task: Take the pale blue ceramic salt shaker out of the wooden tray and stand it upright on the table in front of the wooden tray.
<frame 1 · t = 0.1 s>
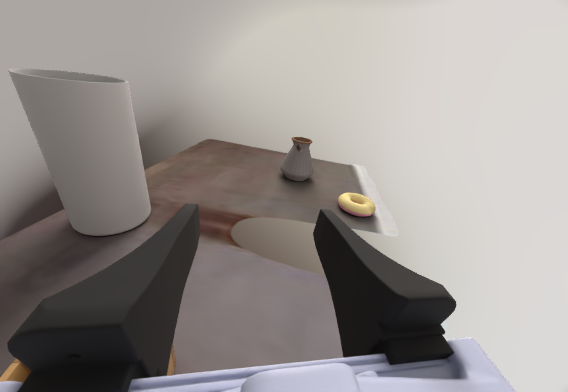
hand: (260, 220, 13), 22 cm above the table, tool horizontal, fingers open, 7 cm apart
cylinder vase: (115, 218, 43), on the table
coffee pot: (293, 182, 71), on the table
donut: (354, 209, 61), on the table
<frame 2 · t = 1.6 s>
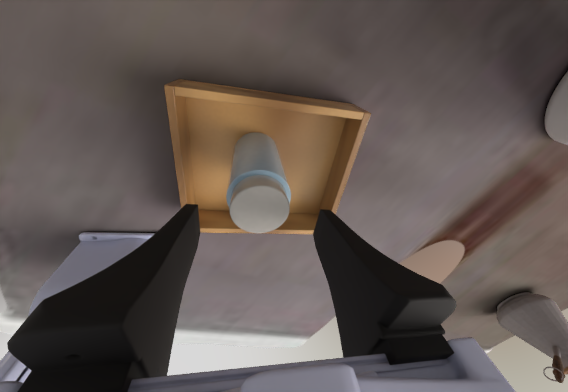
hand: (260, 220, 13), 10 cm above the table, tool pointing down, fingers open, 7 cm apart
coffee pot: (501, 297, 49), on the table
wooden tray: (265, 162, 22), on the table
shaker: (256, 154, 21), point 1 cm above the table, touching wooden tray
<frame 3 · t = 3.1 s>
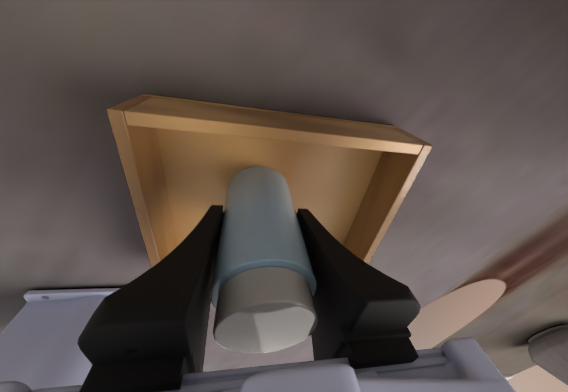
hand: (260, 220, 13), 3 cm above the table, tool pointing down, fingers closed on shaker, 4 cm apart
coffee pot: (534, 331, 43), on the table
wooden tray: (270, 201, 16), on the table
shaker: (258, 194, 15), point 1 cm above the table, touching wooden tray, gripper
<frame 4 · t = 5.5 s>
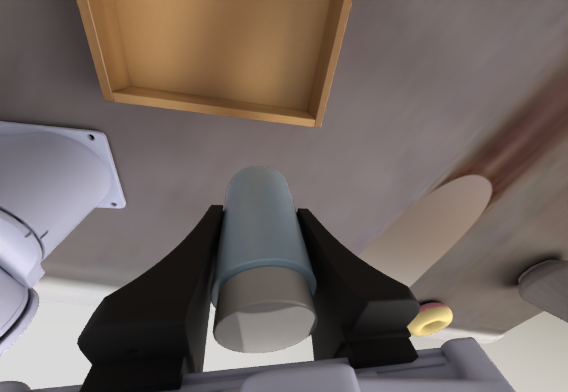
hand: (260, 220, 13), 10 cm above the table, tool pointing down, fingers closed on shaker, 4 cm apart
coffee pot: (524, 266, 42), on the table
wooden tray: (228, 6, 15), on the table
shaker: (258, 193, 15), point 8 cm above the table, touching gripper
donut: (421, 311, 47), on the table
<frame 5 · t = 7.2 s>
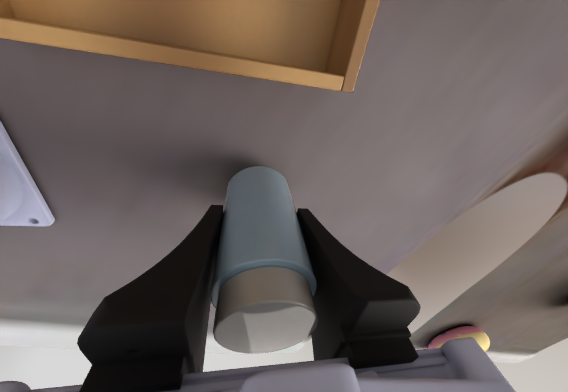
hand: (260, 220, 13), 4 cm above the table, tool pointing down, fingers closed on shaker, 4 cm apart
shaker: (258, 194, 15), point 1 cm above the table, touching gripper
donut: (449, 335, 40), on the table
when the fingers open (3 cm above the table, at t = 8.1 s): shaker stays where it is, on the table.
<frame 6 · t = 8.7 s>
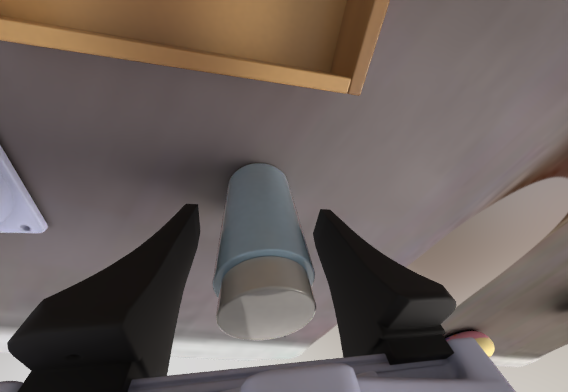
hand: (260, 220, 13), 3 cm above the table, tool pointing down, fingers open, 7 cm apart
shaker: (259, 190, 16), on the table
donut: (453, 339, 39), on the table
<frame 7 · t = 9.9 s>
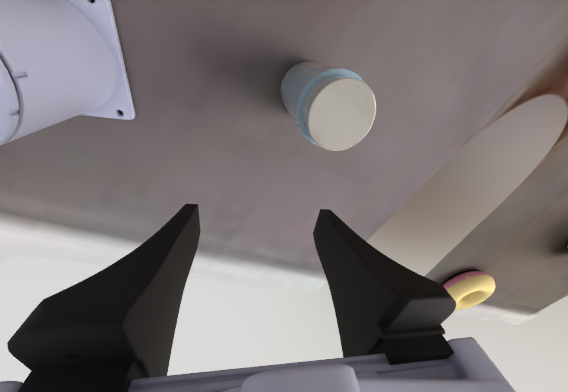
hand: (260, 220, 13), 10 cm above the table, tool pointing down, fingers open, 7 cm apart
shaker: (305, 90, 19), on the table
donut: (457, 282, 43), on the table
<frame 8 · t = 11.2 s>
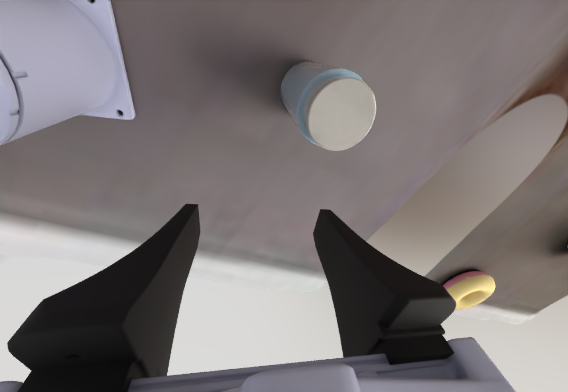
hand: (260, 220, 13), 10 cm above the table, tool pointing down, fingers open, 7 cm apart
shaker: (305, 90, 19), on the table
donut: (457, 282, 43), on the table
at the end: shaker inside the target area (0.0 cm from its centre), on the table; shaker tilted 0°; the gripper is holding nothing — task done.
